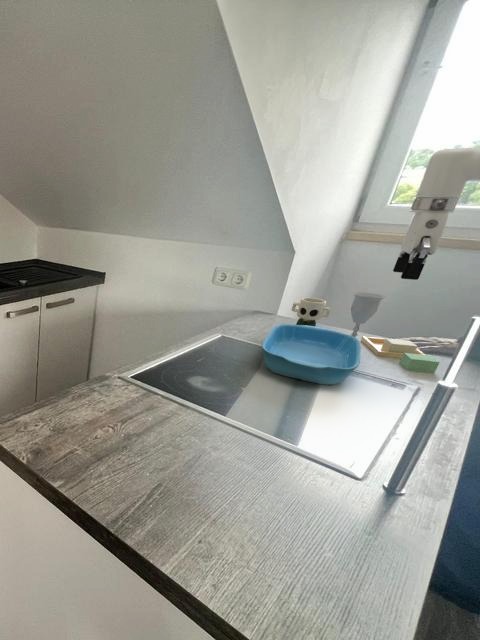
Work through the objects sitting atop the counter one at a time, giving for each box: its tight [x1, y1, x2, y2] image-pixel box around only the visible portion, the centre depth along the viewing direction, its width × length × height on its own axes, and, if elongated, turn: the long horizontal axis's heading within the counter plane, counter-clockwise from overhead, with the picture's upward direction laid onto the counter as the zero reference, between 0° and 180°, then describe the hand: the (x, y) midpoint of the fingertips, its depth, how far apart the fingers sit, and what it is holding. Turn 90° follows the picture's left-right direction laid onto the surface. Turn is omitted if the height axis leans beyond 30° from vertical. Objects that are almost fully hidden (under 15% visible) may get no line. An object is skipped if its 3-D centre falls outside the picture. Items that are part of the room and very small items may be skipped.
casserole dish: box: [261, 323, 362, 386], centre depth 116 cm, size 37×22×7 cm, turn 139°
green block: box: [399, 353, 441, 374], centre depth 112 cm, size 6×5×4 cm
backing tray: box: [360, 335, 426, 360], centre depth 124 cm, size 12×15×2 cm
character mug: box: [291, 297, 332, 327], centre depth 137 cm, size 11×7×13 cm, turn 42°
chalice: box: [350, 291, 385, 338], centre depth 125 cm, size 7×7×18 cm
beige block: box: [381, 337, 418, 354], centre depth 121 cm, size 6×5×4 cm
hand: (404, 275), depth 102 cm, fingers open, 9 cm apart
